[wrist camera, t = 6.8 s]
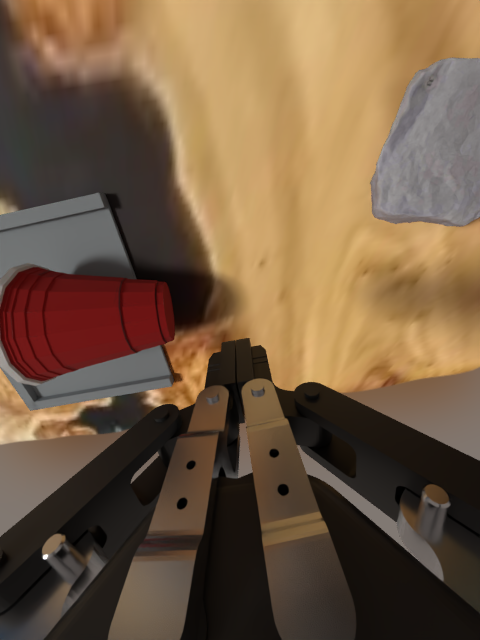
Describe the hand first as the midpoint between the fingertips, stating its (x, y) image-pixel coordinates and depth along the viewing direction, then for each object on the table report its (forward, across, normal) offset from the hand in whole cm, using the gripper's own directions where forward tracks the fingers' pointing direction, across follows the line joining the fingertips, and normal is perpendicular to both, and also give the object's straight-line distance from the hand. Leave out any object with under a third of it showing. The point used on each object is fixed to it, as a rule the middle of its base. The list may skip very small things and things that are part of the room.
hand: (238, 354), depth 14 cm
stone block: (+16, -19, -8) cm, 26 cm away
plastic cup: (+11, +6, +1) cm, 13 cm away
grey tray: (+15, +20, +1) cm, 25 cm away
